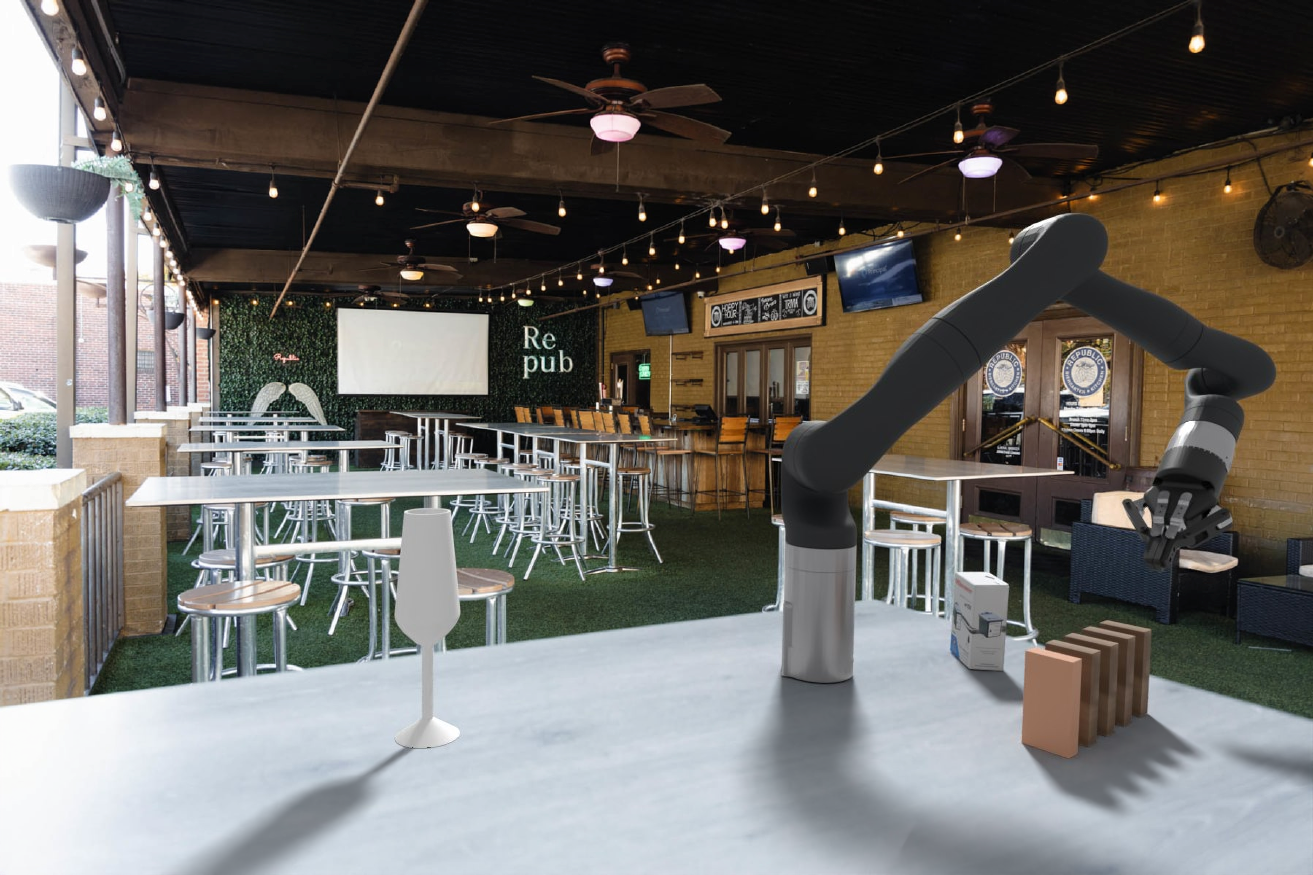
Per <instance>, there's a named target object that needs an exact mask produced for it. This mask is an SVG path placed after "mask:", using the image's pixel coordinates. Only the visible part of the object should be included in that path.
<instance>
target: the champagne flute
mask: <svg viewBox="0 0 1313 875" xmlns="http://www.w3.org/2000/svg"><path fill="white" fill-rule="evenodd" d="M452 518H453V517H452V511H451V509H447V508H441V507H440V508H438V507H437V508H436V507H429V508H428V507H426V508H425V507H424V508H423V507H422V508H412V509H407V510H404V512H403V522H402V532H401V543H400V553H399V563H398V564H399V565H398V573H397V583H396V584H397V585H396V596H395V607H394V620H395V623H396V625H397V626H398V627H399V629H400V630H401V631H402V633H404V634H405V635H406V637H408V638H409V639H410V640H412V641H413V642H414V643H415V644H417V645H419V646H421V718H419V719H418V720H415V721H414V722H413V723H412V724H410V725H408V726H407V727H405V728H403V729H402V730H400V731H399V732H398V733H396V735H395V737H394V739H395V742H396V743H397V744H399V745H400V746H403V747H406V748H410V749H411V748H412V747H413V748H412V749H428V748H427V747H431V748H437V747H442V746H444V745H447V744H449V743H451V742H454V741H455V740H457V739H458V738H459V736H460V733H461V732H460V729H459V728H458V727H456V726H454V725H452V724H450V723H448V722H446V721H444V720H441V719H439V718H437V717H435V716H434V646H435V645H437V644H438V643H440V642H441V641H442V640H443V639H444V638H445V637H446V636H447V635H448V634H449V633H450V632H451V631H452V630H453V629H454V627H455V625H456V624H457V622H458V620H459V619H460V617H461V605H460V596H459V594H460V593H459V585H458V573H457V563H456V553H455V552H456V551H455V543H454V533H453V532H454V531H453V529H454V528H453V521H452Z"/></svg>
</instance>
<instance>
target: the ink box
mask: <svg viewBox="0 0 1313 875" xmlns="http://www.w3.org/2000/svg"><path fill="white" fill-rule="evenodd" d="M1009 591H1010V586H1009V583H1007V582H1005V581H1004V580H1001V579H1000V578H999V577H997V576H995V575H994V574H992V573H991V572H988V571H954V580H953V598H952V599H953V600H952V616H951V630H950V632H951V634H950V652H951V653H953V655H954V656H955V657H957V659H958V660H960V662H962V663H963V665H965V667H966V668H968V669H969V670H981V671H982V670H984V671H1001V672H1002V671H1004V669H1005V668H1004V667H1005V653H1006V652H1005V651H1006V639H1007V637H1006V636H1007V634H1006V633H1007V623H1008V622H1007V621H1008V620H1007V619H1008V606H1009V593H1010V592H1009Z"/></svg>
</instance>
